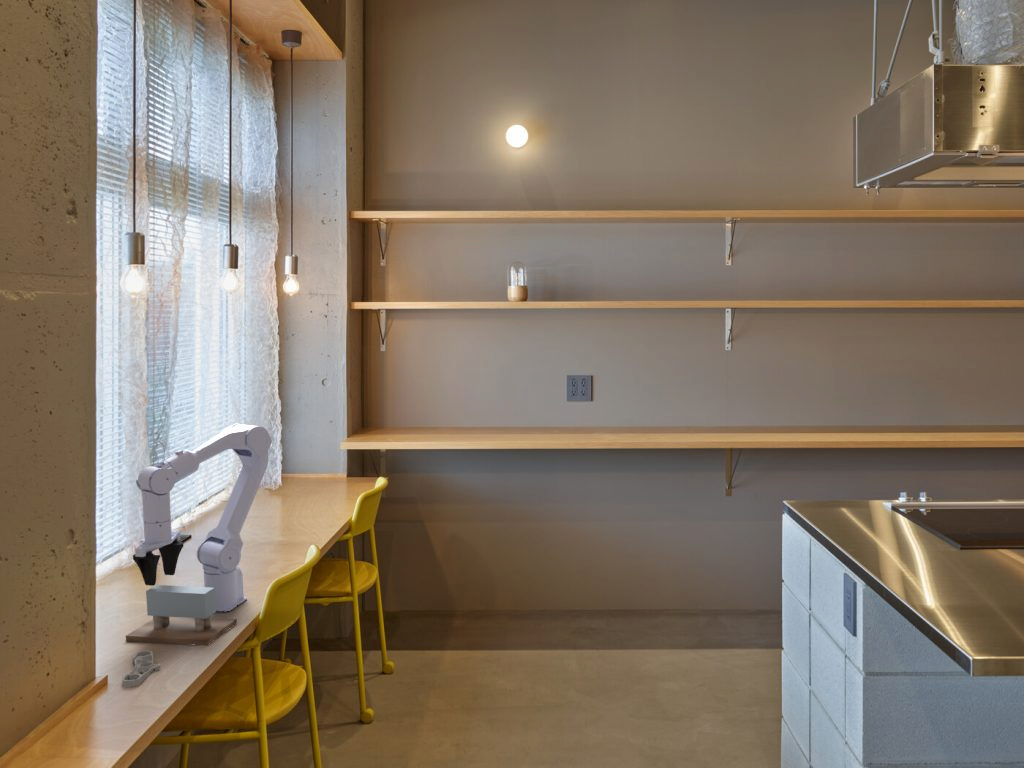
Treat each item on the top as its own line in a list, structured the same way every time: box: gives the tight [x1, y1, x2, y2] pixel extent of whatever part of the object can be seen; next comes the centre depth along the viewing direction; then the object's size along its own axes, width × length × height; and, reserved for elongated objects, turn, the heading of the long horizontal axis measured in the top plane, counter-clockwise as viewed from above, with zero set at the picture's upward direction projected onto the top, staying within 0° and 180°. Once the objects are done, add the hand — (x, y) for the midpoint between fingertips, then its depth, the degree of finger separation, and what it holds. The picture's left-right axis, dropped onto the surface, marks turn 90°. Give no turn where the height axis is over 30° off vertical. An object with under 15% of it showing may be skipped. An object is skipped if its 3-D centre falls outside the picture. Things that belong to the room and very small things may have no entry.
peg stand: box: [125, 616, 238, 646], centre depth 201 cm, size 13×19×4 cm
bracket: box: [121, 649, 161, 688], centre depth 180 cm, size 8×2×15 cm
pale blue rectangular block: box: [145, 584, 217, 619], centre depth 200 cm, size 14×4×6 cm, turn 79°
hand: (160, 579), depth 205 cm, fingers open, 7 cm apart
